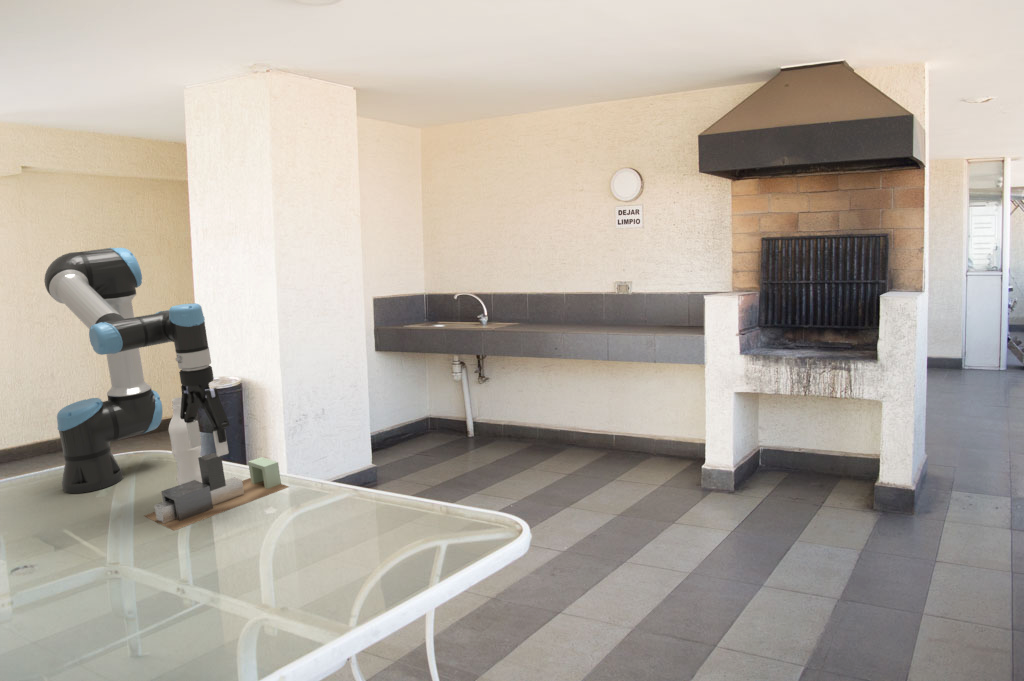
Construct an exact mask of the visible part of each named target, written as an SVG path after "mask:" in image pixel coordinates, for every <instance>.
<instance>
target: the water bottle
mask: <svg viewBox="0 0 1024 681" xmlns="http://www.w3.org/2000/svg"><path fill="white" fill-rule="evenodd" d="M181 399H182V396H178V397H174V398H172V399H171V402H172V407H171V409H172V410H173V413H172V417H171V420H170V422H169V425H168V433H169V439H170V440H169V441H170V444H171V454H172V456H173V457H174V459H175V462H176V467H177V476H176V482H177V486H178V485H181V484H184V483H187V482H190V481H193V480H196V481H199V482H201V483H202V478H201V472H200V466H199V460H198V458H199V457H201V453H202V452H201V451H202V447H201V446H202V445H201V446H198V447H195V448H190V443H189V437H188V431H187V425H186V423H185V421H184V419H181V418H180V413H181ZM194 421H196V420H194Z"/></svg>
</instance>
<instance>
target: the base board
mask: <svg viewBox="0 0 1024 681" xmlns="http://www.w3.org/2000/svg"><path fill="white" fill-rule="evenodd" d="M242 483H243V490H244V494H243V495H240V496H237V497H235V498H232V499H229V500H226V501H224V502H221V503H218V504H216V505H213V509H211V510H209V511H206V512H203V513H200V514H198V515H195V516H192V517H190V518H187V519H184V520H182V521H179V520H178V519H175V520H172V521H169V522H167V523H162V522H160V521H158V520H157V518H156V513H155V511H153V512H150V513H147V514H145V515H143V517H145V518H146V519H148V520H149V519H150V520H151V521H154V522H155V523H157V524H159V525H161V526H163V527H166V528H168V529H170V530H172V531H177V530H179V529H182V528H185V527H187V526H190V525H193V524H196V523H198V522H201V521H204V520H205V519H209V518H212V517H215V516H217V515H219V514H222V513H225V512H227V511H230V510H232V509H233V510H234V509H235V508H237V507H240V506H243V505H246V504H248V503H251V502H253V501H257V500H258V499H261V498H264V497H267V496H269V495H272V494H275V493H277V492H280V491H282V490H285V489H287V488H290V486H288V485H285V484H283V483H281V484H279V485H277V486H274V487H271V488H268V489H267V488H265V486H264V481H261V482H258V483H256V484H253V483H251V477H249V478H245V479H242Z"/></svg>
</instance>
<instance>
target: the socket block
mask: <svg viewBox="0 0 1024 681" xmlns="http://www.w3.org/2000/svg"><path fill="white" fill-rule="evenodd" d="M247 463H248V470H249V475H250V477H249V478H251V483H253V484H256V483H258V482H261V481H264V486H265V488H267V489H268V488H271V487H274V486H277V485H279V484H282V482H281V481H282V480H281V475H280V474H281V473H280V468H279V462H278V461H277V460H272V459H270V458H266V457H264V456H261V457H258V458H254V459H251V460H249V461H247Z"/></svg>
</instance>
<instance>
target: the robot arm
mask: <svg viewBox="0 0 1024 681" xmlns="http://www.w3.org/2000/svg"><path fill="white" fill-rule="evenodd" d="M142 280H143V275H142V269H141V267H140V264H139V262H138V260H137V258H136V256H135V255H134V254H133V253H132V251H131V250H129V249H127V248H126V247H108V248H100V249H92V250H85V251H78V252H77V251H75V252H68V253H65V254H63V255H61V256H59V257H57V258H56V259H54V260H53V261H52V262H51V263H50V264H49V266H48V268H46V271H45V274H44V280H43V281H44V287H45V290H46V291H47V293H48V294H49V296H50V297H51V298H52V299H53V300H54V301H56V302H58V303H60V304H64V305H65V306H66V307H67V308H68V309H69V310H70V311H71V312H72V313H73V314H74V315H75V316H76V318H78V319H79V320H80V322H82V323H83V325H85V327H86V328H88V337H89V342H90V345H91V346H92V350H93V351H94V352H95V353H96V354H98V355H101V356H103V355H106V360H107V366H108V371H109V377H110V378H109V379H110V384H111V387H110V389H109V390H108V391H107V392H106V395H107V400H104V401H103V400H102V399H101V398H99V397H91V398H87V399H81V400H78V401H75V402H73V403H70V404H68V405H66V406H64V407H62V408H61V409H60V410H58V412H57V414H56V422H57V430H58V433H59V438H60V443H61V444H60V445H61V448H62V453H63V459H64V468H63V473H62V479H61V486H62V490H63V491H64V492H65V493H68V494H82V493H83V494H84V493H90V492H94V491H98V490H101V489H105V488H108V487H110V486H113V485H115V484H117V483H120V482H121V480H122V479H124V476H123V471H122V467H120V464H119V463H118V462H117V459H116V458H115V456H114V454H113V453H112V450H111V444H110V443H111V442H115V441H119V440H124V439H126V438H130V437H134V436H137V435H144V434H146V433H148V432H151V431H154V430H156V429H158V428H159V426H160V424H161V423H162V419H163V404H162V400H161V396H160V394H159V393H158V392H157V391H155V390H153V389H152V386H151V385H150V384H148V383H147V382H146V381H145V375H144V369H143V364H142V358H141V351H140V349H142V348H147V347H150V346H156V345H157V346H158V345H161V344H166V343H174V348H175V349H174V351H175V355H176V357H175V361H176V362H177V366H178V369H180V370H179V372H178V373H179V379H180V383H181V386H180V388H181V397H182V399H181V413H180V418H181V419H184V421H185V423H186V425H187V431H188V437H189V443H190V448H195V447H198V446H203V444H202V438H201V433H200V432H201V431H200V426H199V425H200V424H199V421H198V416H197V415H198V413H199V408H200V409H203V411H204V412H205V414H206V416H207V418H208V420H209V421H210V424H211V425H212V427H213V428H212V430H211V432H212V434H213V440H214V441H213V442H214V447H215V454H217V456H218V457H219V456H221V457H223V456H225V455H228V454H229V446H228V441H227V440H228V439H227V435H226V434H227V433H226V428H228V427H230V422H229V420H228V417H227V415H226V411H225V409H224V406H223V405H222V401H221V398H220V396H219V392H218V388H217V387H214V388H210V385H209V384H210V383H211V382H213V381H214V380H215V378H214V372H213V367H212V366H211V364H212V359H211V352H210V347H209V342H208V337H207V331H206V330H207V329H206V322H205V321H206V320H205V316H204V312H203V309H202V308H203V307H202V306H201V304H199V303H183V304H177V305H172V306H171V307H169V309H168V310H167V309H166V310H160V311H158V312H155V313H152V314H146V315H141V316H140V315H139V316H135V315H134V314H135V313H134V309H133V308H134V307H133V300H134V298H135V297H136V296H137V289H136V288H140V286H142V284H143V282H142ZM194 420H195V421H194Z"/></svg>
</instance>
